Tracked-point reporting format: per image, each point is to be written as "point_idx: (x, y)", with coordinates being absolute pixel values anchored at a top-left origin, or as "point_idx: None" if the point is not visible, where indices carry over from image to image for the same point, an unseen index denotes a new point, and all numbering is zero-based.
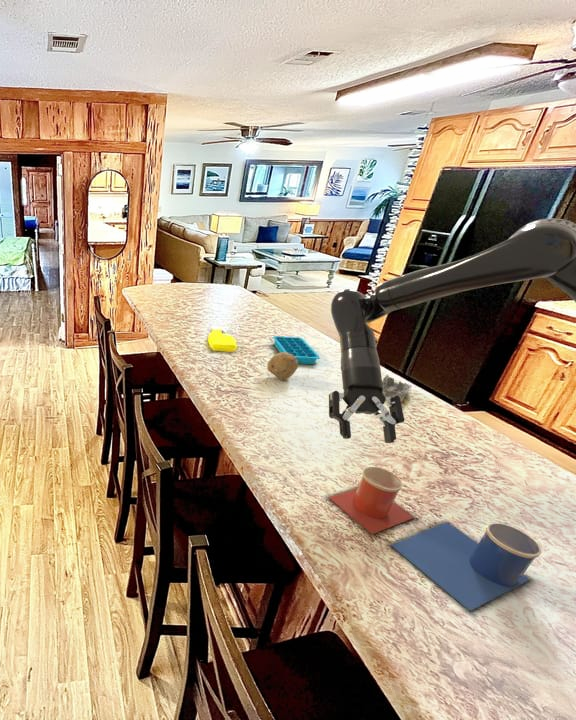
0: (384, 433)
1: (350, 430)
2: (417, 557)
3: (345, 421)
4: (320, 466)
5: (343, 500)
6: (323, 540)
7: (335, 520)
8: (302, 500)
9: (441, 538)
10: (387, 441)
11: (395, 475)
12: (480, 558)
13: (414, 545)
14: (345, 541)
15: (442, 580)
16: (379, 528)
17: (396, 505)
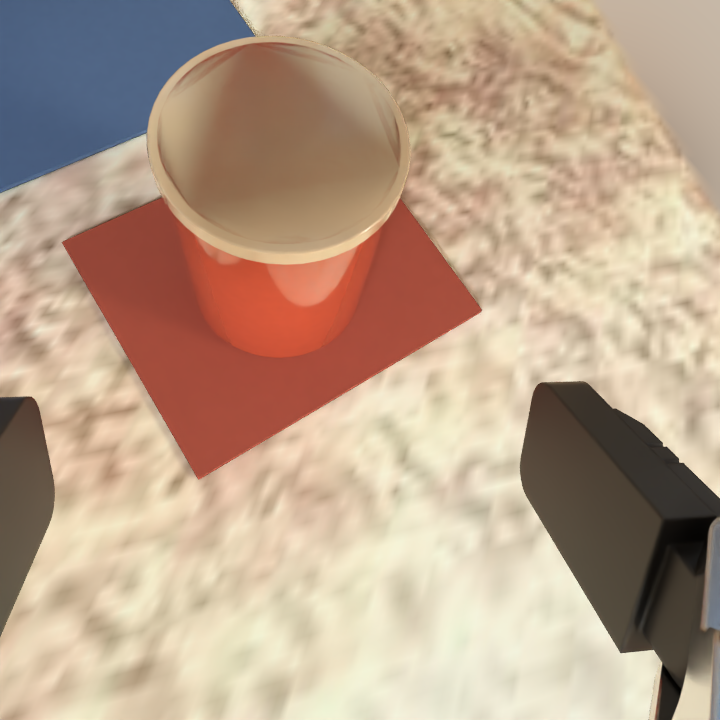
0: (11, 587)
1: (582, 420)
2: (199, 28)
3: (704, 532)
4: (468, 613)
5: (409, 301)
6: (551, 73)
7: (480, 175)
8: (612, 273)
9: (7, 131)
10: (44, 459)
11: (157, 176)
12: None
13: None
14: (465, 78)
15: None
16: None
17: (114, 315)
